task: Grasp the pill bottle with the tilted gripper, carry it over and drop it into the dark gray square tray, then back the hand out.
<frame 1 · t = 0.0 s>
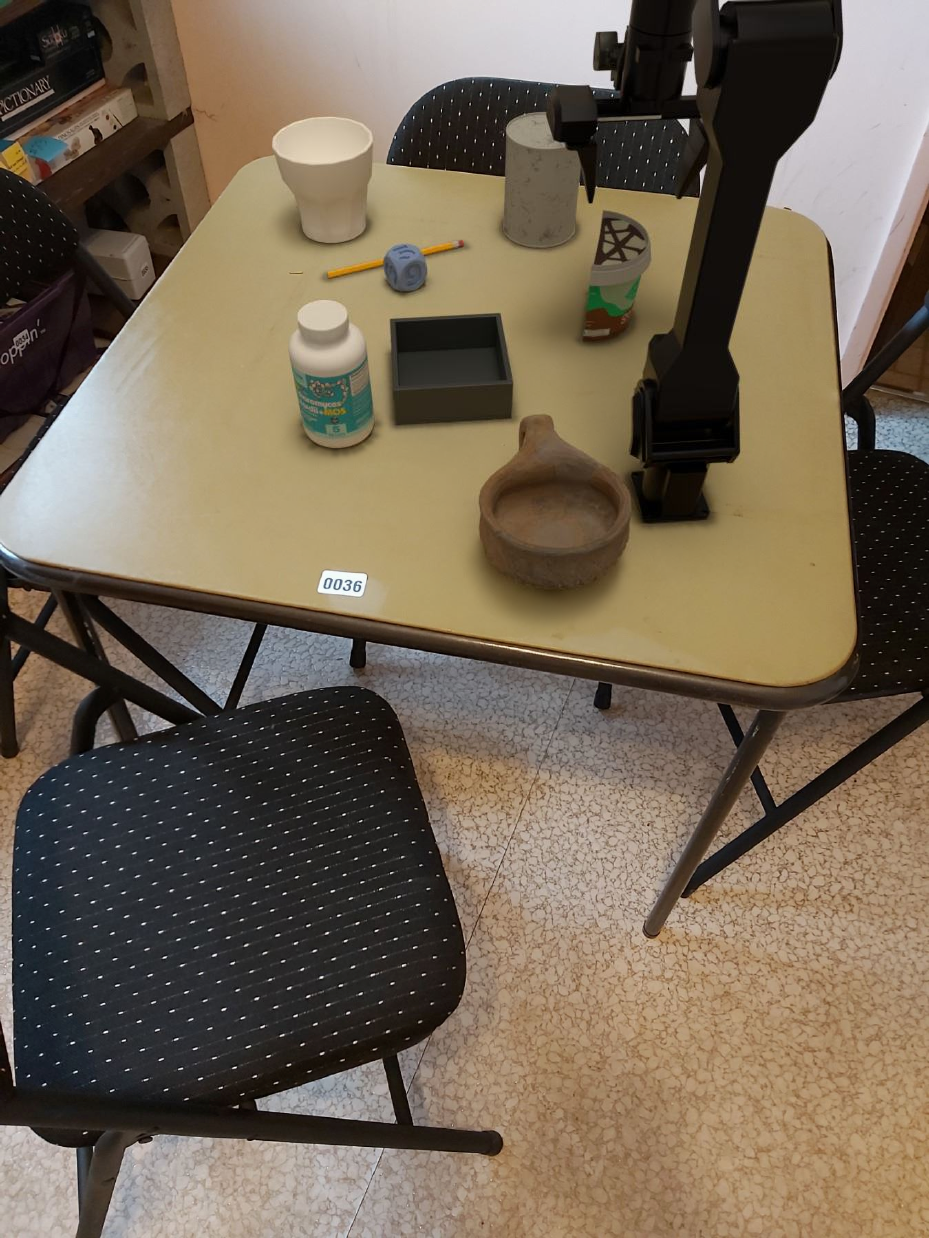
hand: (633, 199, 86), 15 cm above the table, tool pointing down, fingers open, 9 cm apart
marbled stone cylinder: (538, 230, 111), on the table
decorative dice: (406, 284, 104), on the table
dark gray square tray: (450, 384, 92), on the table
cup: (334, 228, 111), on the table
pencil: (396, 263, 107), on the table
food container: (612, 322, 99), on the table
bowl: (541, 538, 79), on the table
pill bottle: (340, 429, 88), on the table
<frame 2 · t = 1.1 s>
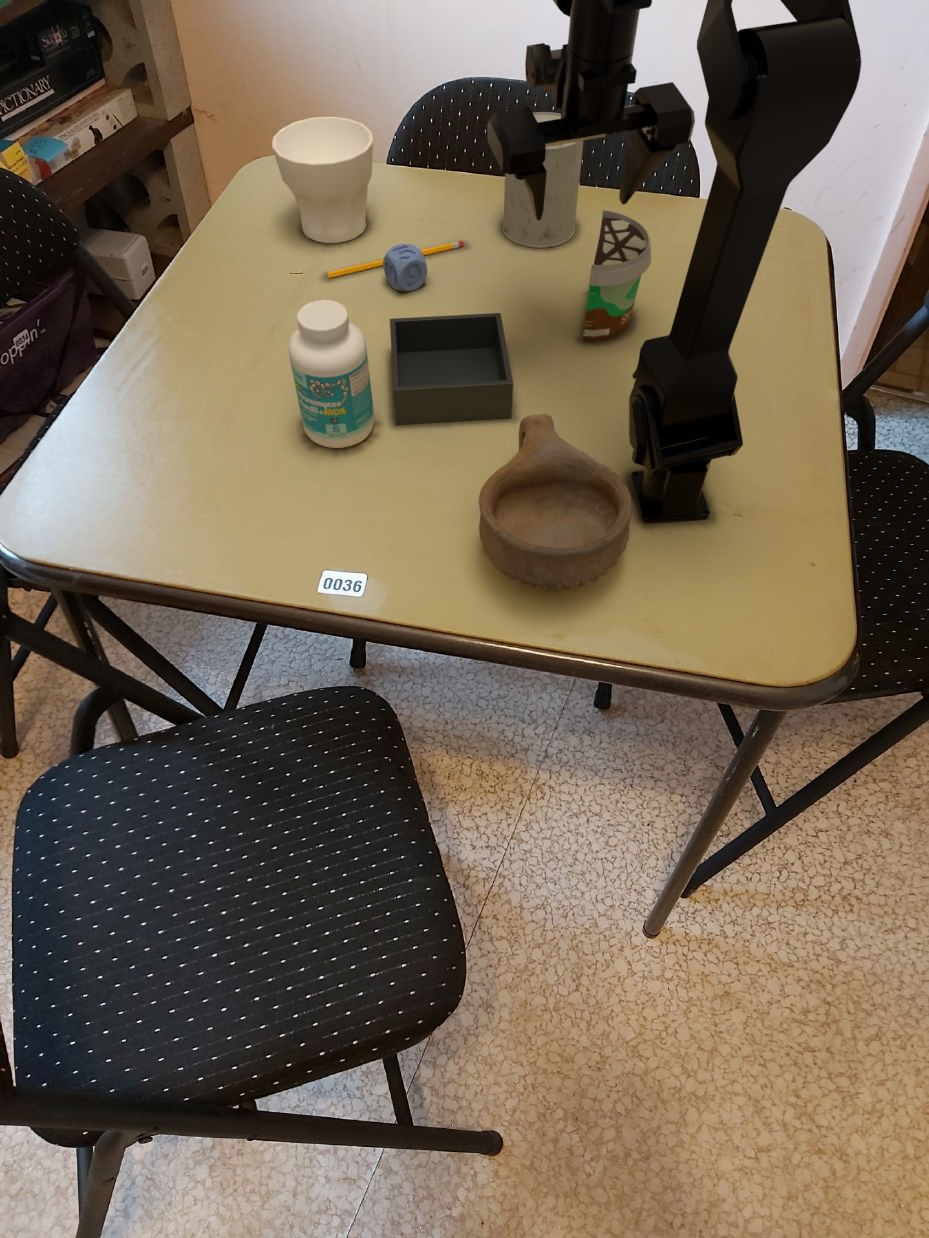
hand: (580, 209, 86), 14 cm above the table, tool pointing down, fingers open, 9 cm apart
nothing on the table moved.
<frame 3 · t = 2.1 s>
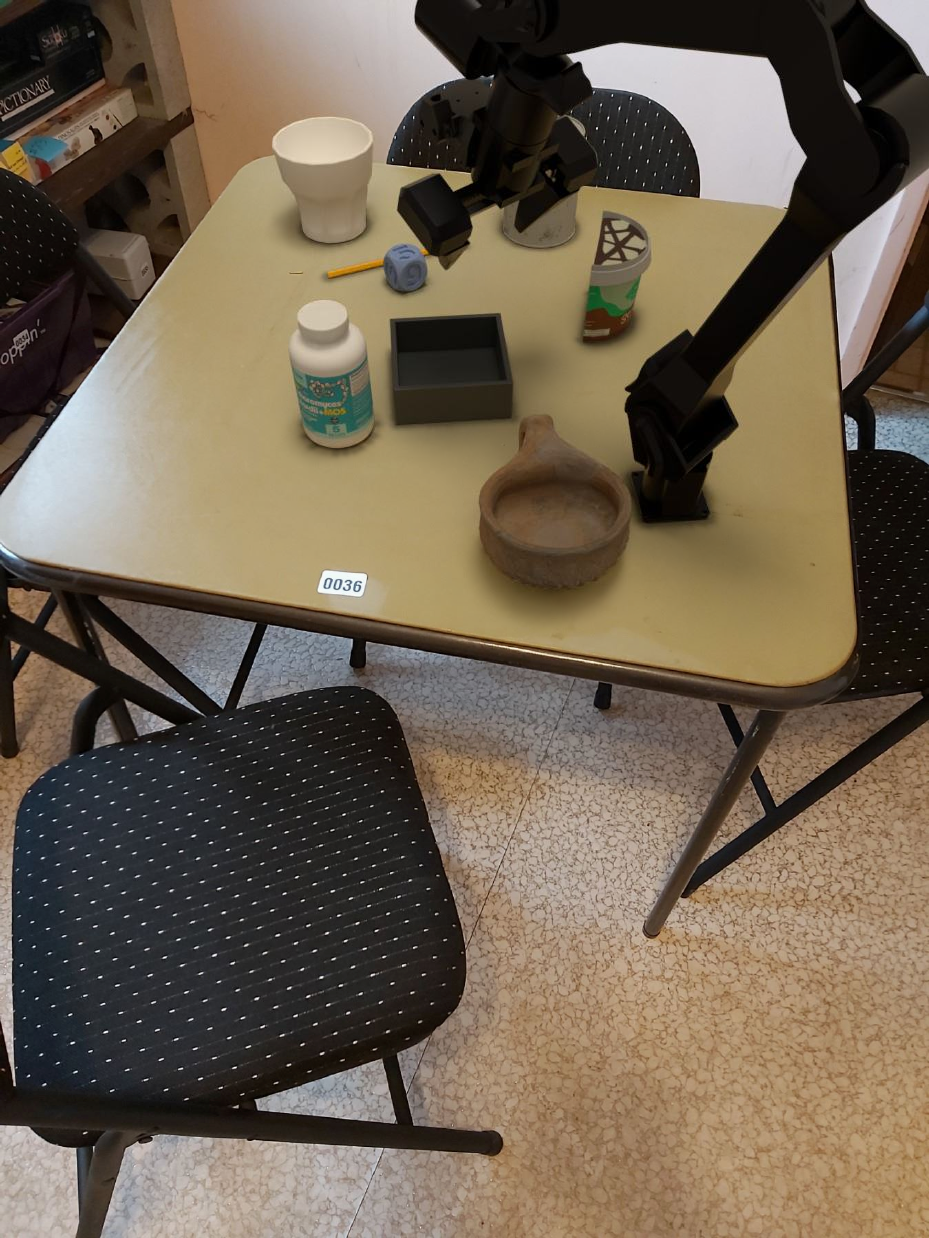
hand: (481, 247, 82), 14 cm above the table, tool tilted 25°, fingers open, 9 cm apart
nothing on the table moved.
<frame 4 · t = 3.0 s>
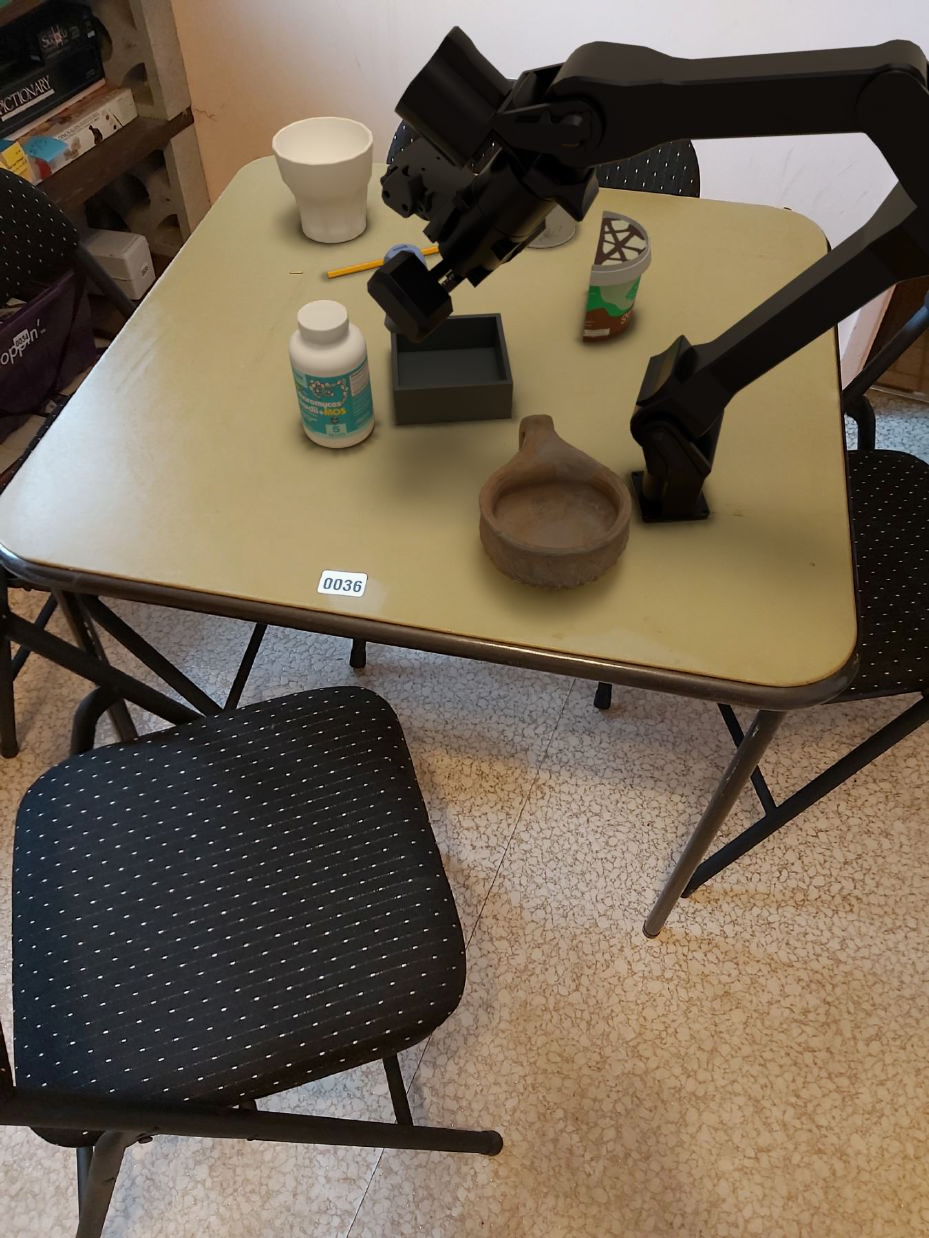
hand: (419, 302, 78), 14 cm above the table, tool tilted 40°, fingers open, 9 cm apart
nothing on the table moved.
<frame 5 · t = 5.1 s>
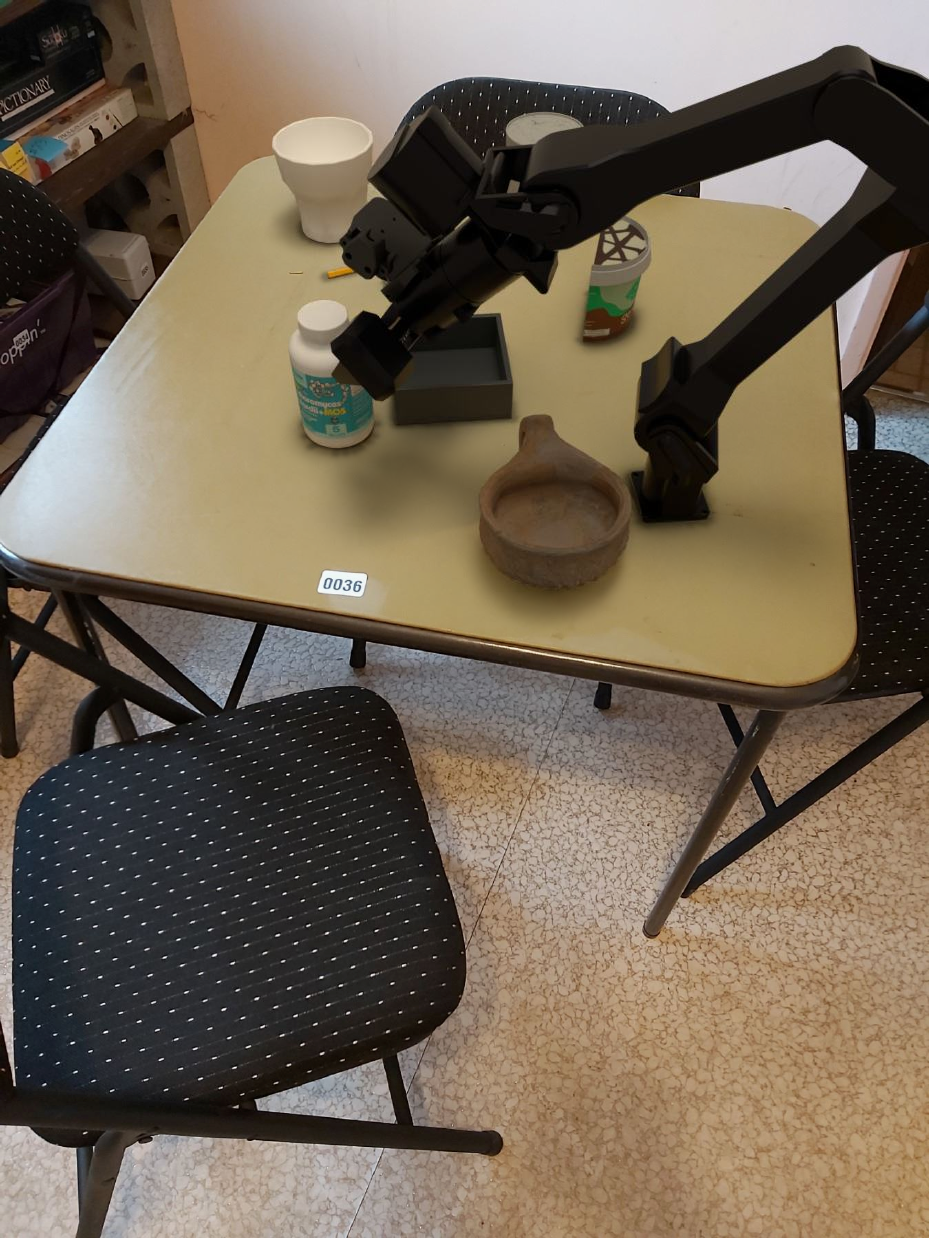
hand: (360, 349, 78), 11 cm above the table, tool tilted 45°, fingers open, 9 cm apart
nothing on the table moved.
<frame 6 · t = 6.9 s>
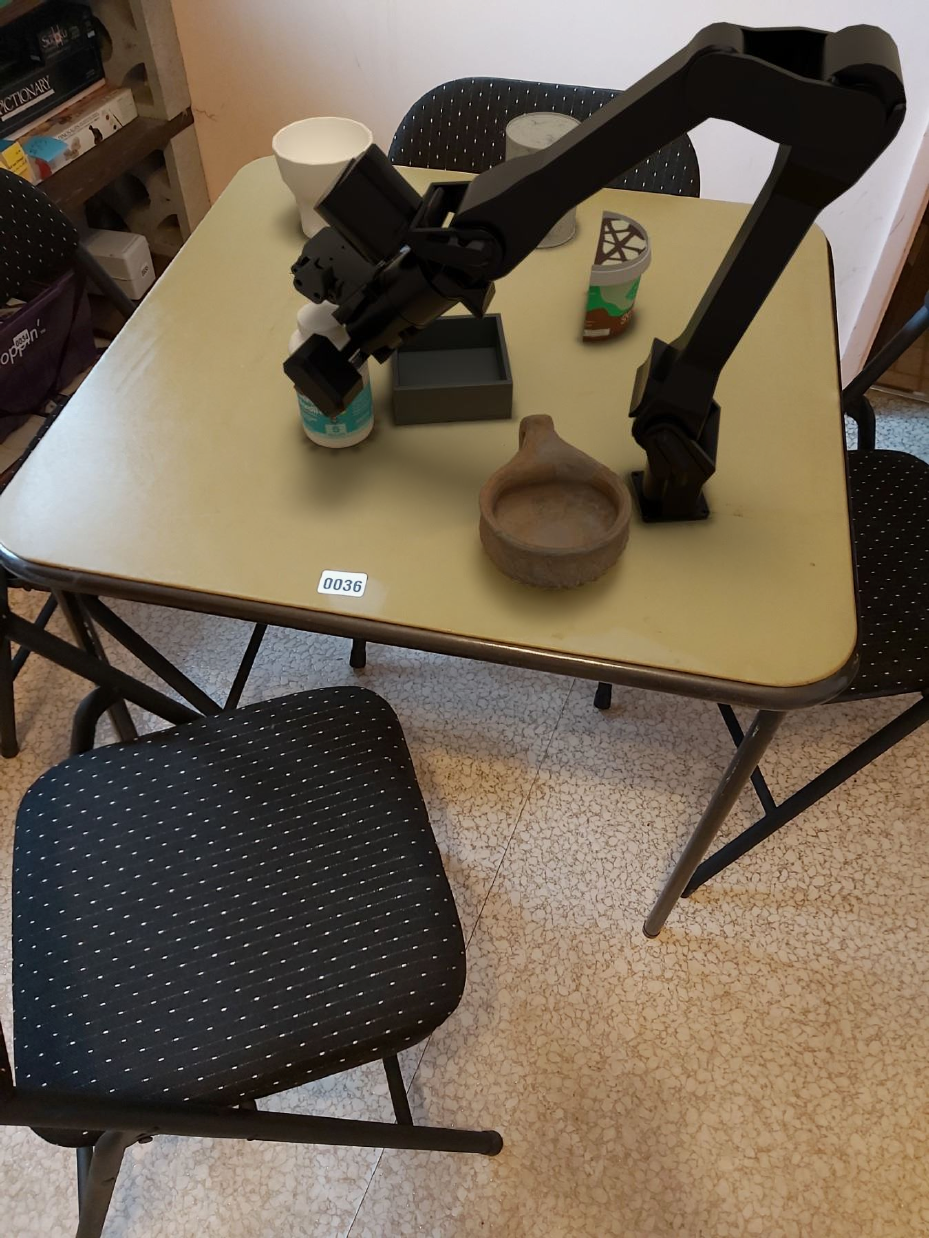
hand: (318, 367, 82), 7 cm above the table, tool tilted 45°, fingers closed on pill bottle, 7 cm apart
pill bottle: (340, 429, 88), on the table, touching gripper
everything else where it was.
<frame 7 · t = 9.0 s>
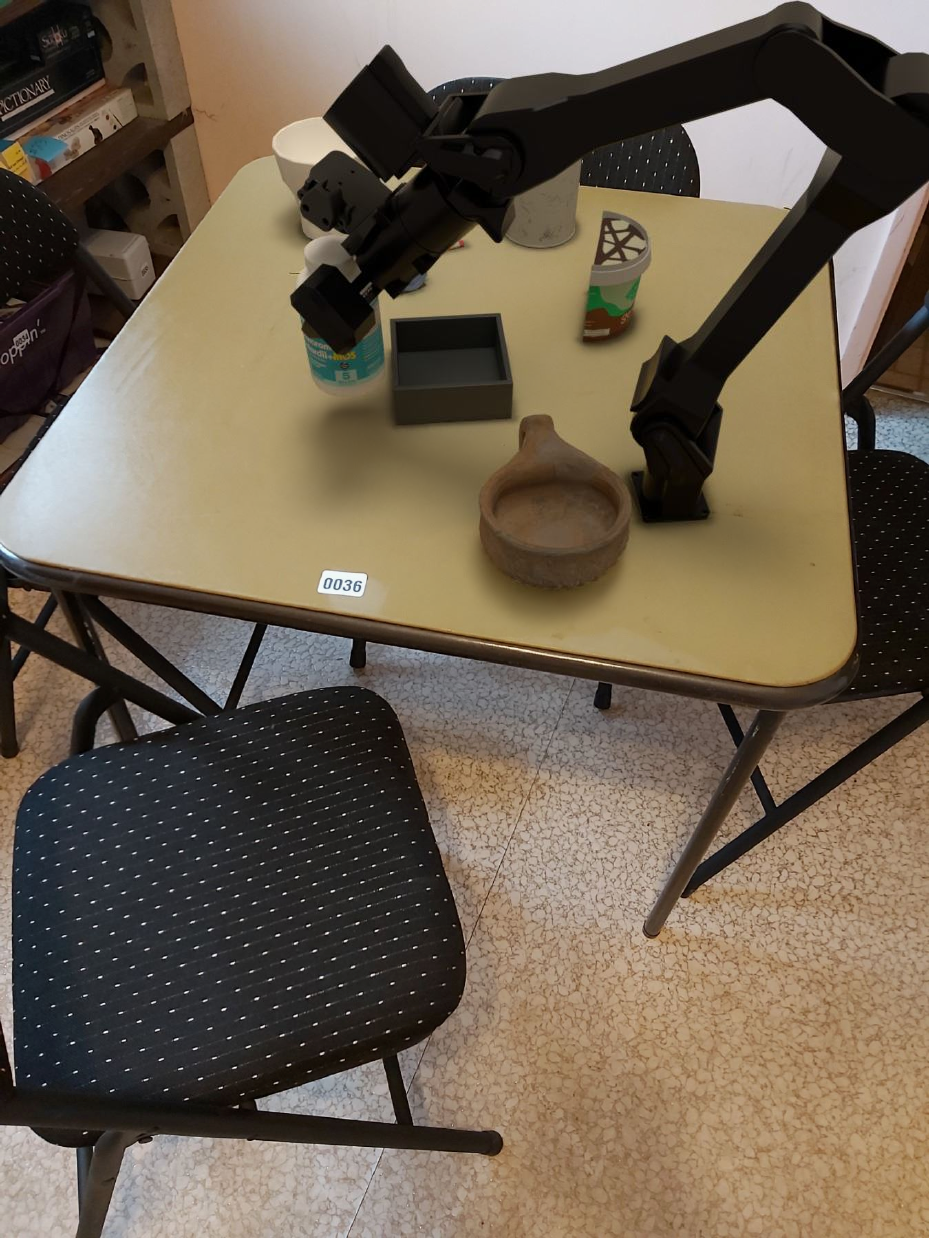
hand: (327, 310, 78), 13 cm above the table, tool tilted 45°, fingers closed on pill bottle, 7 cm apart
pill bottle: (350, 378, 84), point 6 cm above the table, touching gripper
everything else where it was.
when the fingers open (8 cm above the table, at t = 13.0 s): pill bottle stays where it is, resting on dark gray square tray.
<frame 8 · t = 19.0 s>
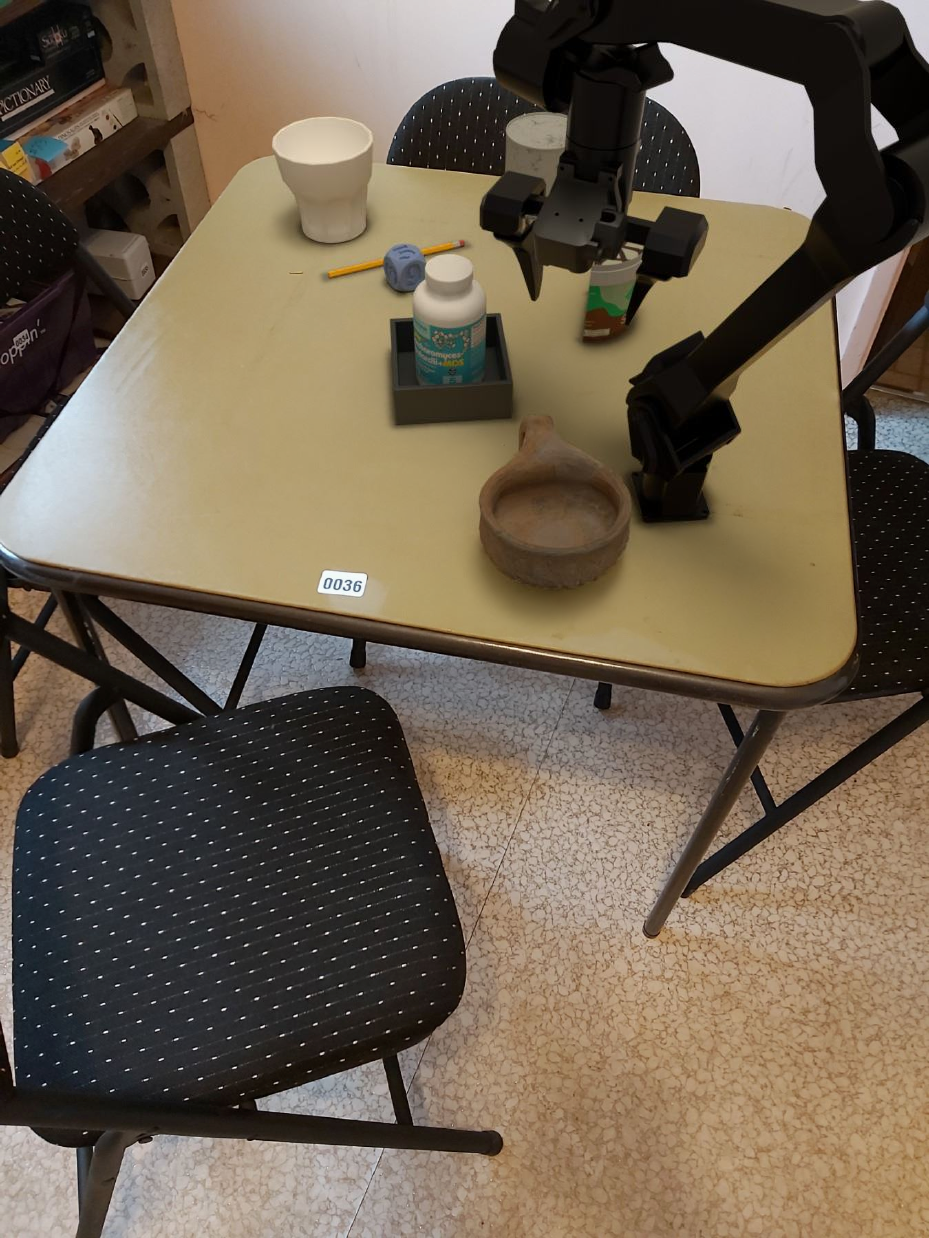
hand: (581, 311, 78), 13 cm above the table, tool pointing down, fingers open, 9 cm apart
pill bottle: (450, 383, 92), resting on dark gray square tray
everything else where it was.
at the end: pill bottle inside the target area in the dark gray square tray (0.2 cm from its centre), point 0.3 cm above the dark gray square tray's base; the gripper is holding nothing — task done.
